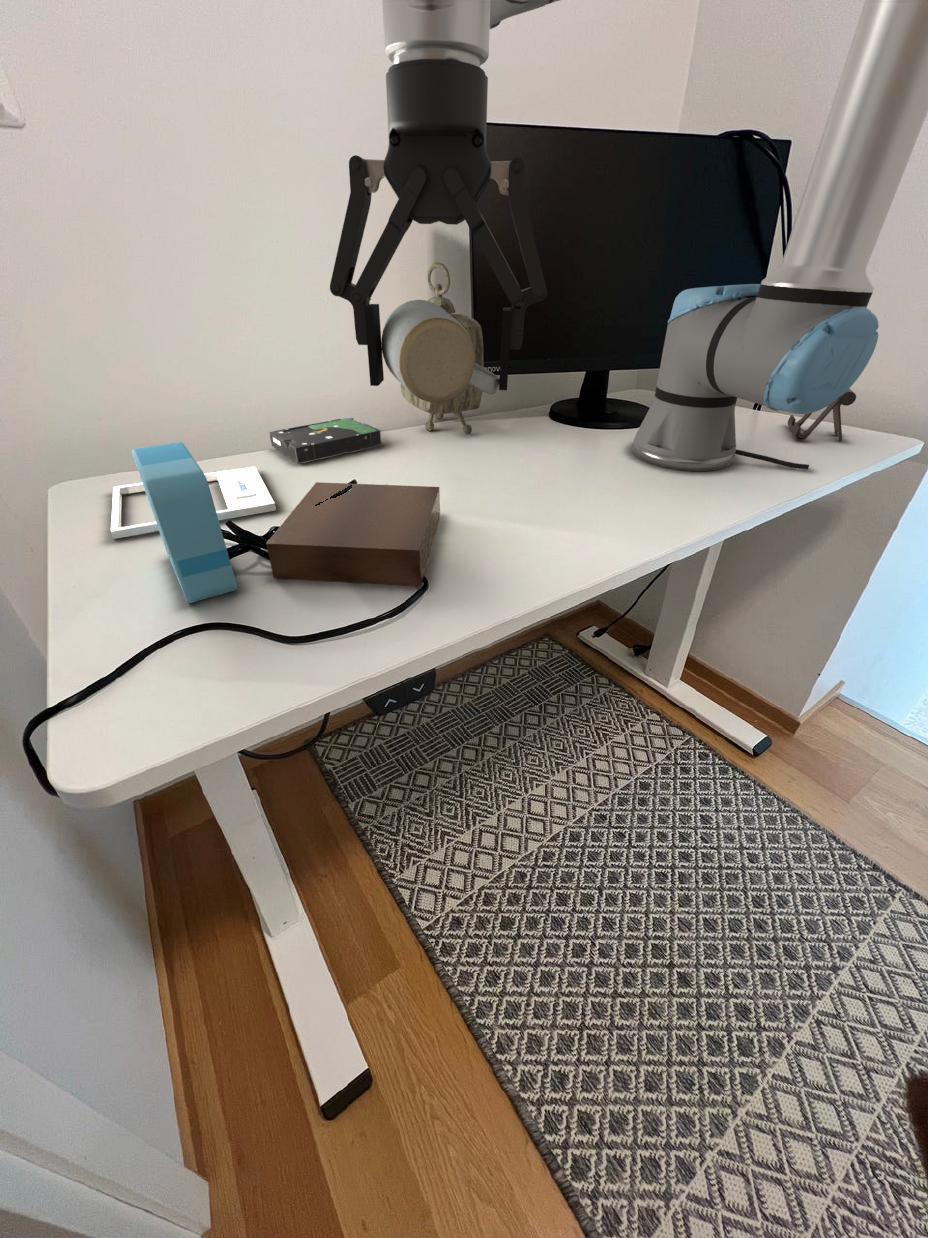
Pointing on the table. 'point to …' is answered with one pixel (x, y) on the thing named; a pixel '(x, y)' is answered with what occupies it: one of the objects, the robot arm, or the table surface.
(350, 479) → the table surface
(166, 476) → the blue rounded block
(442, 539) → the table surface
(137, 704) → the table surface
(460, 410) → the tabletop clock
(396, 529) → the walnut riser
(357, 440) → the disk drive
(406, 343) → the ceramic mug
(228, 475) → the photo frame
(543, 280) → the robot arm
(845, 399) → the tablet stand
